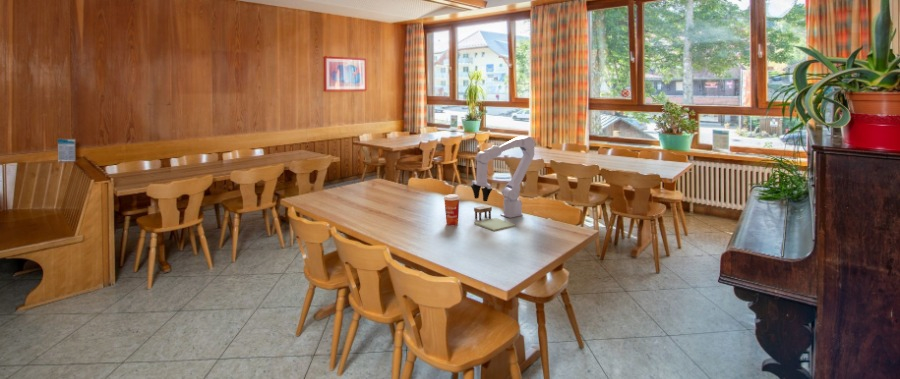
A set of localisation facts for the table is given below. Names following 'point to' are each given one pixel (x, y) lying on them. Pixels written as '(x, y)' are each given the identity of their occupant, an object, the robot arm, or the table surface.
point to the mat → (494, 224)
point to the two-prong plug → (481, 210)
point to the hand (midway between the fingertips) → (480, 199)
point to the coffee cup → (452, 209)
